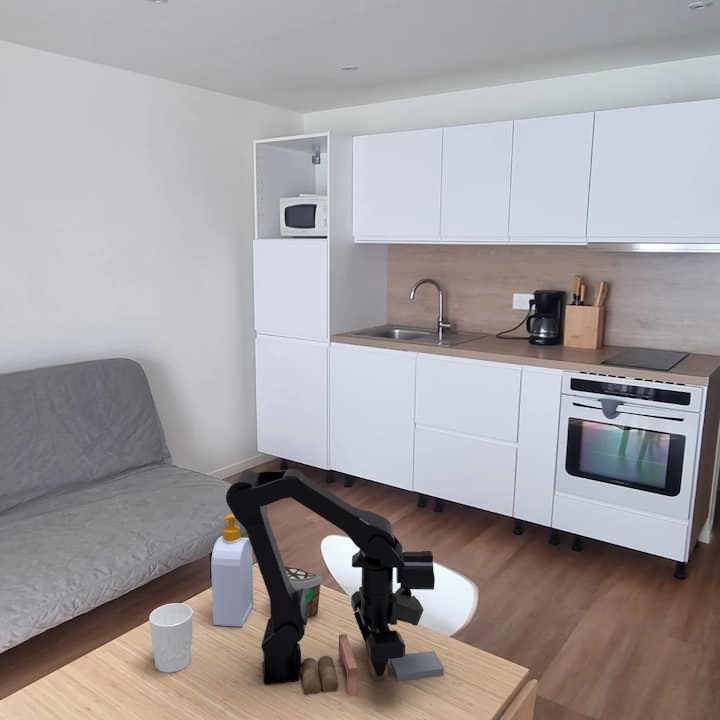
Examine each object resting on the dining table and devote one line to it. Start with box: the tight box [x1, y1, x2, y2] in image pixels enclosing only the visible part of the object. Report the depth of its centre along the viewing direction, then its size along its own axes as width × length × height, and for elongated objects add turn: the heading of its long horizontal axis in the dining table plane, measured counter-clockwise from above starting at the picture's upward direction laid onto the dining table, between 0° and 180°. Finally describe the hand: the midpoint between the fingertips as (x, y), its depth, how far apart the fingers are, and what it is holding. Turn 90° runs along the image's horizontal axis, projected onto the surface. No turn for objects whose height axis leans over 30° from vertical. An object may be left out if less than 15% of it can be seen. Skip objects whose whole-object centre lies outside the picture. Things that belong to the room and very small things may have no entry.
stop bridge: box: [338, 633, 358, 697], centre depth 120 cm, size 2×10×6 cm, turn 12°
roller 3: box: [363, 648, 389, 681], centre depth 122 cm, size 3×6×3 cm, turn 12°
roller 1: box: [301, 657, 322, 696], centre depth 119 cm, size 3×6×3 cm, turn 10°
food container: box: [285, 566, 324, 620], centre depth 140 cm, size 12×6×10 cm, turn 62°
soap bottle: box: [210, 513, 254, 628], centre depth 139 cm, size 9×7×23 cm
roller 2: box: [317, 655, 339, 693], centre depth 120 cm, size 3×6×3 cm
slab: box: [388, 650, 445, 683], centre depth 123 cm, size 9×6×2 cm, turn 103°
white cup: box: [148, 602, 194, 674], centre depth 124 cm, size 8×8×10 cm
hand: (375, 664), depth 122 cm, fingers closed on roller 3, 6 cm apart
